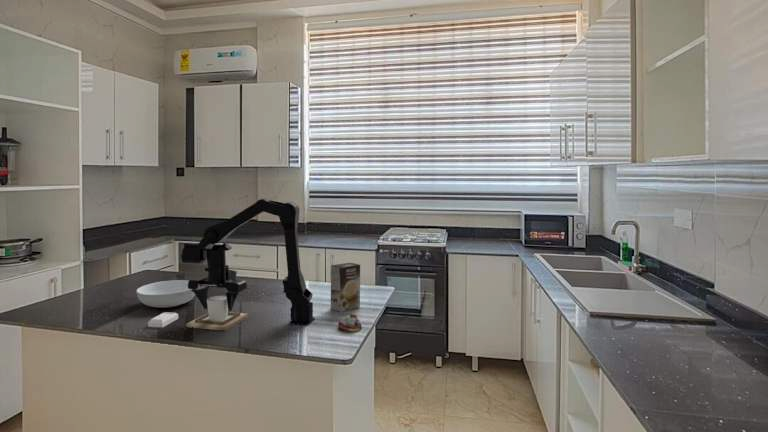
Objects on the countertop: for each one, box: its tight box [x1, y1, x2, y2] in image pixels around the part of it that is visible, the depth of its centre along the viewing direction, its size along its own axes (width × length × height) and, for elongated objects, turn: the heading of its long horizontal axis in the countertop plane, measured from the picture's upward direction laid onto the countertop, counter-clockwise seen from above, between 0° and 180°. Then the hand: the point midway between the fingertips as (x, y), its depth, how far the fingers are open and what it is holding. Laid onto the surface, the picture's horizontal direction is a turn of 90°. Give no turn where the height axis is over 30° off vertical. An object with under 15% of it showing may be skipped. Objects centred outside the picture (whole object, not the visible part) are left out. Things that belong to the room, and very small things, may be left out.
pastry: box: [337, 313, 362, 333], centre depth 141 cm, size 8×8×5 cm
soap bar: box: [147, 311, 179, 328], centre depth 146 cm, size 5×9×3 cm, turn 174°
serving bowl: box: [135, 279, 196, 309], centre depth 166 cm, size 21×21×7 cm
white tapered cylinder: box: [207, 295, 229, 321], centre depth 147 cm, size 7×7×7 cm
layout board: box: [185, 311, 249, 331], centre depth 147 cm, size 14×14×2 cm
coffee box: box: [330, 262, 361, 313], centre depth 162 cm, size 9×6×16 cm
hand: (218, 309), depth 147 cm, fingers open, 9 cm apart
